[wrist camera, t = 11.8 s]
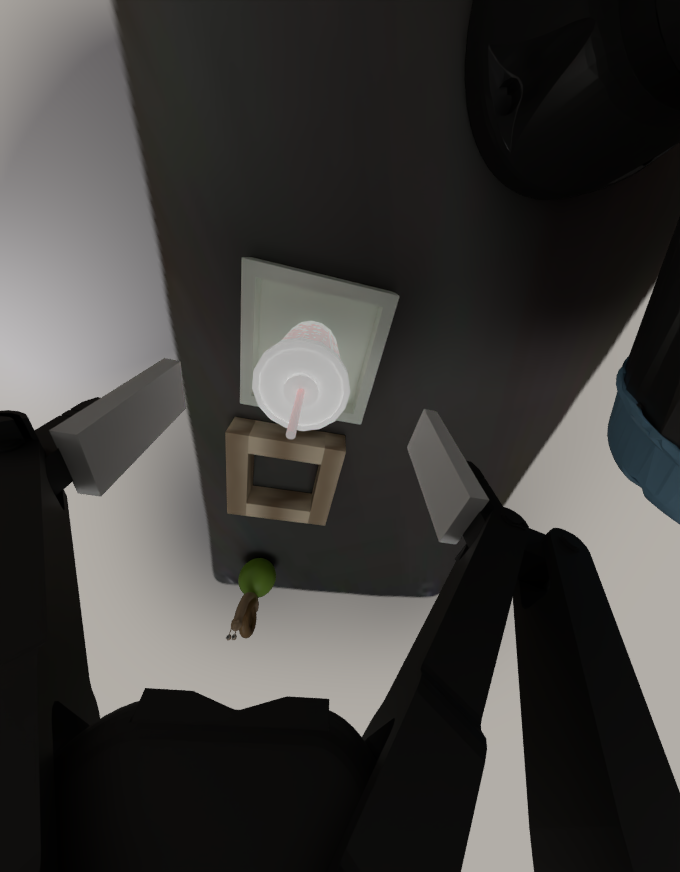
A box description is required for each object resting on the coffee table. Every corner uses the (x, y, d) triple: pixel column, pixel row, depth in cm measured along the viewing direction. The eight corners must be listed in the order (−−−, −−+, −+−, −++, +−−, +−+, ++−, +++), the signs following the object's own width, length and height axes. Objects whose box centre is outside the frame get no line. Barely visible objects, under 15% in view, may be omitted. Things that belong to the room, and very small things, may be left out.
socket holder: (345, 435, 31) (345, 451, 28) (325, 507, 37) (325, 525, 35) (234, 416, 29) (225, 432, 27) (234, 495, 36) (227, 513, 33)
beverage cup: (262, 345, 24) (197, 432, 13) (311, 293, 22) (284, 342, 11) (312, 392, 27) (294, 499, 15) (359, 349, 25) (381, 438, 13)
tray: (393, 291, 23) (399, 296, 21) (359, 412, 29) (360, 424, 27) (250, 256, 21) (241, 257, 19) (247, 391, 28) (239, 403, 25)
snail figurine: (272, 545, 42) (252, 637, 32) (281, 568, 46) (267, 657, 36) (237, 548, 42) (207, 640, 32) (250, 571, 46) (226, 660, 36)
